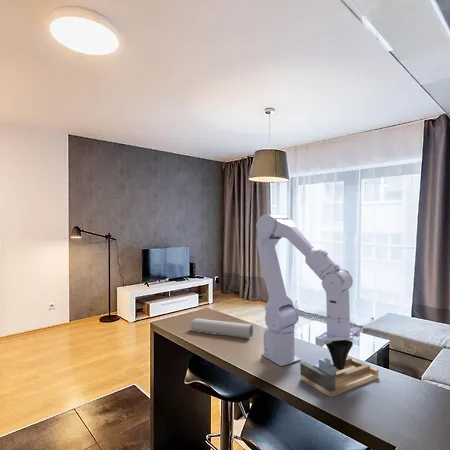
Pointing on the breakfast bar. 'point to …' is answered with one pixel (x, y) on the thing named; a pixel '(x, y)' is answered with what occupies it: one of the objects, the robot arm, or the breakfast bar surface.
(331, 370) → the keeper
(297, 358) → the robot arm
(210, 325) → the tube
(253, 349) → the breakfast bar surface
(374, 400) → the breakfast bar surface
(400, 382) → the breakfast bar surface
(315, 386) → the track
